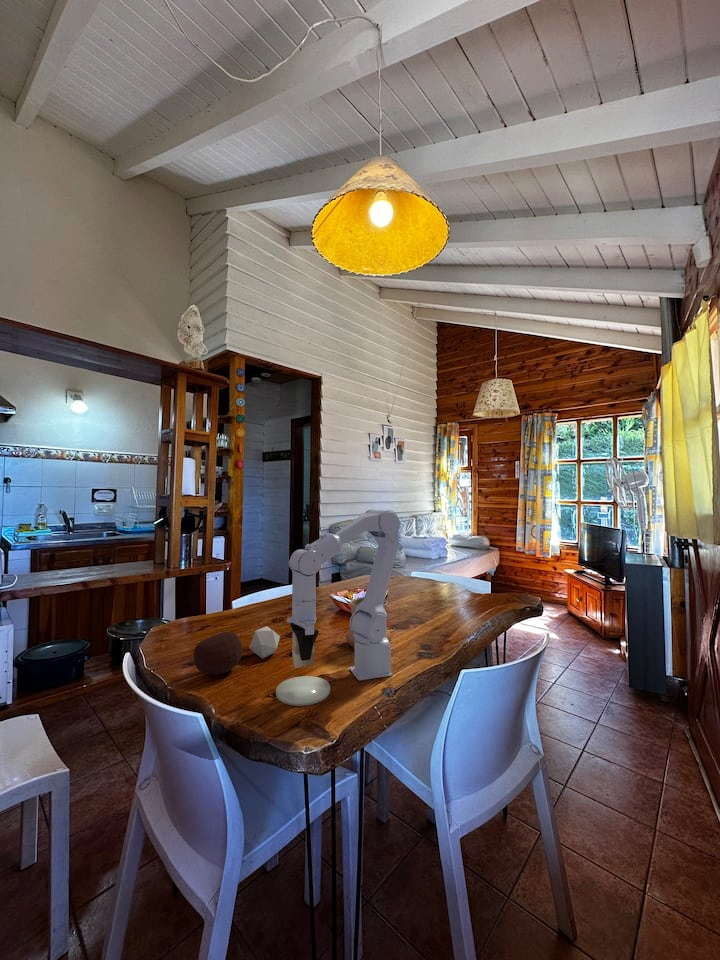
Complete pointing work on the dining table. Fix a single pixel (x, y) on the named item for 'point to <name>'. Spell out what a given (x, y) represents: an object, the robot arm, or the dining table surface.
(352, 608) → the ceramic jug
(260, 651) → the die
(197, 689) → the dining table surface
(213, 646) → the potato
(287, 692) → the plate
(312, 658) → the block
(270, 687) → the dining table surface
